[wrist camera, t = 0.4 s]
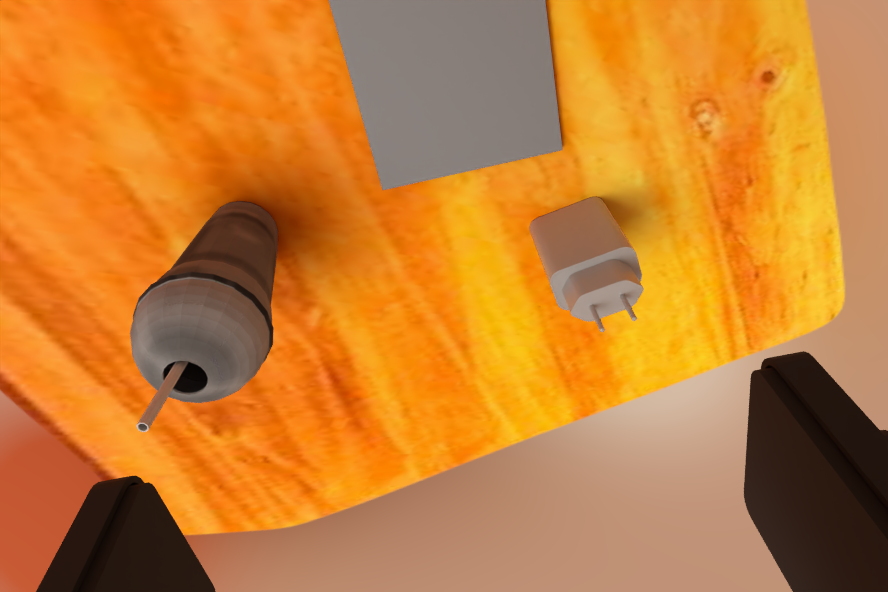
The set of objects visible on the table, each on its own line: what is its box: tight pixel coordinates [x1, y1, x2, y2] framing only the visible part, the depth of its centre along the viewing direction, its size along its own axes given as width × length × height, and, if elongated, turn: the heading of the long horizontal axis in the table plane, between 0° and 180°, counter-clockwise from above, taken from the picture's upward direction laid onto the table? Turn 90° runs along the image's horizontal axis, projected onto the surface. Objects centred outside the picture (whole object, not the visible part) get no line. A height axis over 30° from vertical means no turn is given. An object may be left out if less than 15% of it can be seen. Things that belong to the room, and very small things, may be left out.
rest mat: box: [329, 0, 562, 190], centre depth 40 cm, size 12×12×1 cm
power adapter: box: [530, 197, 643, 332], centre depth 42 cm, size 3×5×12 cm, turn 112°
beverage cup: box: [130, 201, 278, 432], centre depth 37 cm, size 7×7×20 cm
